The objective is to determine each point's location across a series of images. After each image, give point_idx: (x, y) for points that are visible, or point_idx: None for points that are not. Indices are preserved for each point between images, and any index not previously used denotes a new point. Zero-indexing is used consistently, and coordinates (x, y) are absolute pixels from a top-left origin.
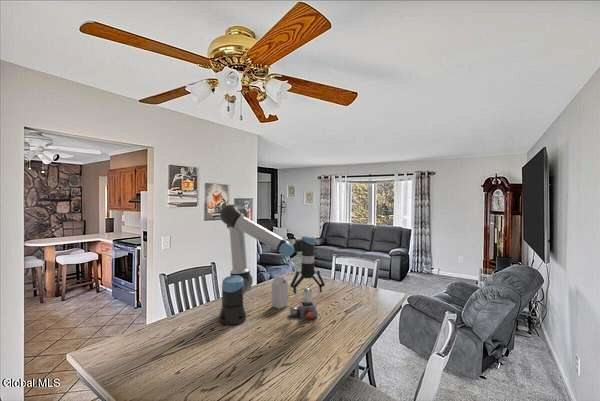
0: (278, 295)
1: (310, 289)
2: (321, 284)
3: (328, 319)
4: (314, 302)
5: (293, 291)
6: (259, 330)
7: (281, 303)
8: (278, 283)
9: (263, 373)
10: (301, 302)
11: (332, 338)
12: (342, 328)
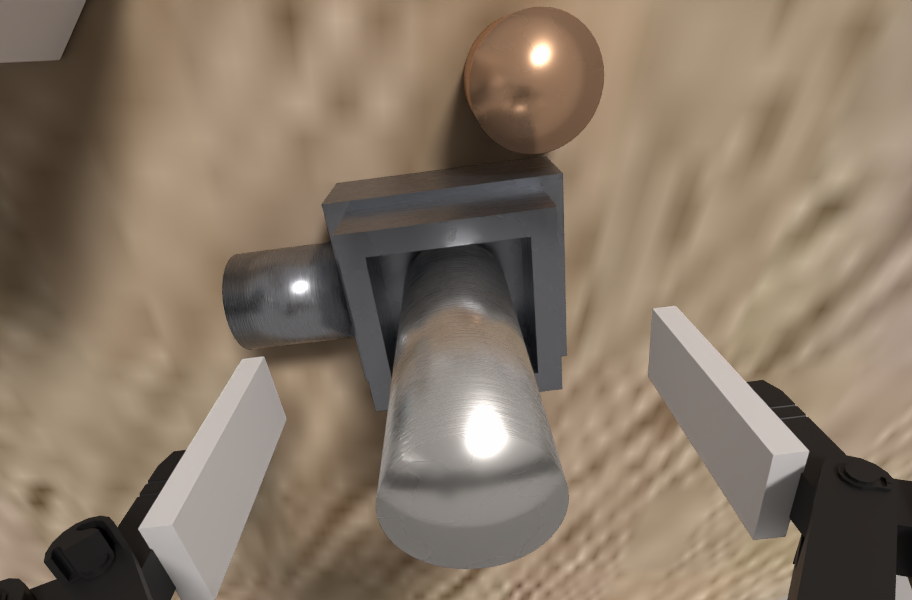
0: None
1: (533, 547)
2: (897, 565)
3: None
4: (596, 51)
5: (153, 480)
6: None
7: (19, 32)
8: None
9: None
10: (367, 256)
11: (584, 595)
12: (703, 495)
